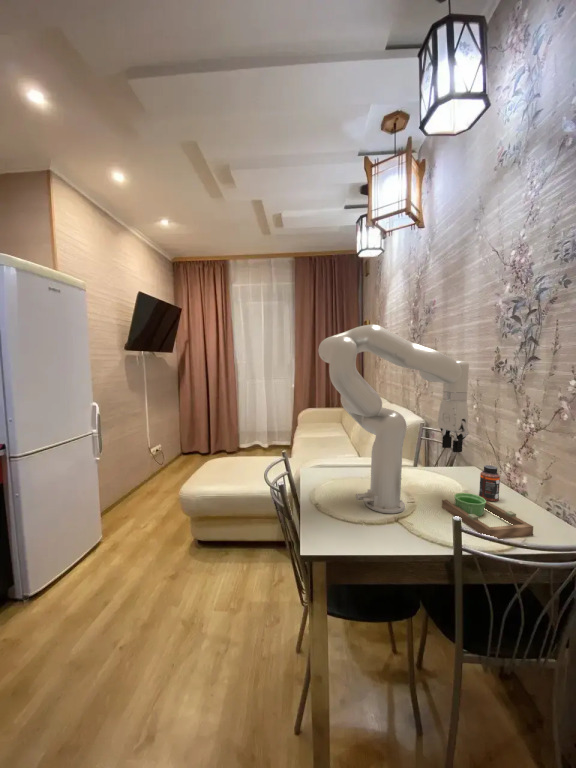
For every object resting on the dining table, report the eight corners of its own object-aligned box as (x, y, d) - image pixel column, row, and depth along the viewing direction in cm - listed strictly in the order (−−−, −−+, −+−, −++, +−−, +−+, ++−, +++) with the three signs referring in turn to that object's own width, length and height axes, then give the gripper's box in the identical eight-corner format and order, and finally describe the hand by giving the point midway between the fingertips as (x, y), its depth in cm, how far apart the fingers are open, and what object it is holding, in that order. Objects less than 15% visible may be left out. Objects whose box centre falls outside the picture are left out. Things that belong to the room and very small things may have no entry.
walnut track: (488, 539, 95) (488, 527, 95) (441, 507, 115) (441, 497, 115) (533, 535, 98) (534, 523, 98) (479, 504, 118) (480, 494, 118)
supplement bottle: (502, 502, 120) (504, 469, 119) (484, 501, 120) (486, 469, 119) (492, 495, 126) (494, 464, 125) (475, 495, 126) (477, 463, 125)
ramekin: (448, 509, 113) (448, 496, 113) (462, 503, 119) (463, 490, 118) (476, 520, 106) (477, 506, 106) (490, 513, 112) (491, 499, 111)
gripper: (430, 394, 127) (427, 444, 129) (461, 400, 111) (458, 457, 112) (448, 394, 129) (446, 443, 130) (482, 400, 112) (479, 456, 113)
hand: (451, 449), depth 121 cm, fingers open, 4 cm apart
